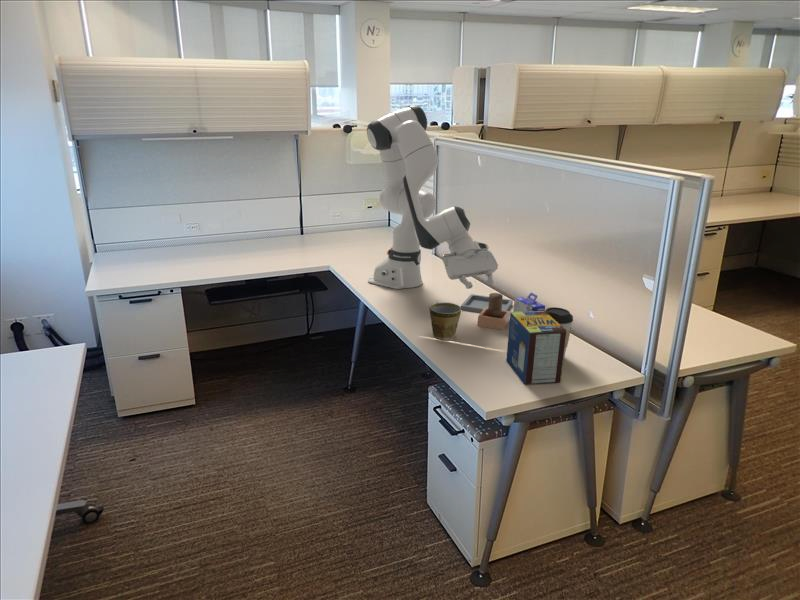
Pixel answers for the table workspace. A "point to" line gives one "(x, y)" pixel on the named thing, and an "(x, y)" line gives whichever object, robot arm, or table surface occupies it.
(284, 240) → the table surface
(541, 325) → the protein box
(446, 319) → the ceramic cup
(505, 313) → the holder cup
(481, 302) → the tray
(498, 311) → the canister
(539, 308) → the ink cartridge box
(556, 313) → the coffee cup
